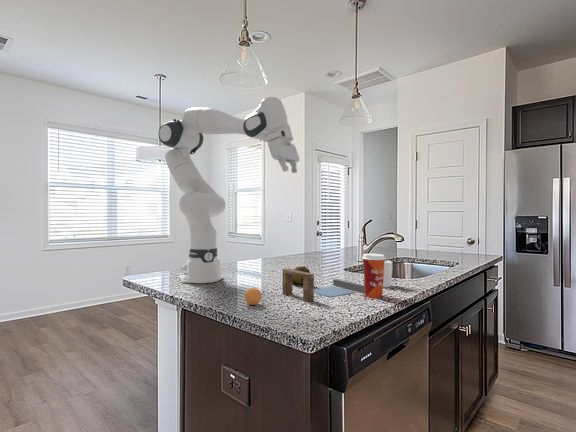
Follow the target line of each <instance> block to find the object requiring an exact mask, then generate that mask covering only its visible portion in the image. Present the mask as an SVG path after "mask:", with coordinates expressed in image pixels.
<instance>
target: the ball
mask: <svg viewBox="0 0 576 432" xmlns="http://www.w3.org/2000/svg"><path fill="white" fill-rule="evenodd" d="M262 295H263V294H262V292H261V291H260V289H259V288H256V287H251V288H248V289H247V290H246V292H245V293H244V301H245V302H246V303H247V304H248V305H251V306H256V305H258V304H259V303H260V302H261V301H262Z"/></svg>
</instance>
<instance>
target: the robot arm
mask: <svg viewBox="0 0 576 432" xmlns="http://www.w3.org/2000/svg"><path fill="white" fill-rule="evenodd" d="M182 114H183V115H182V118H181V119H180V120H179V119H178V118H174V119H172V120H171V121H166V122H164V123H163V124H162V125H161V126H160V127H159V129H158V139H159V141H160V142H161V144H162V145H165V146H166V147H169V148H170V149H168V150H167V152H166V153H165V155H164V158H165V162H166V165H167V168H168V170H169V172H170V174H171V175H172V177H173V180H174V181H175V183H176V185H177V186H178V188H179V190H181V192H183V193H184V194H183V195H182V196H181V197H180V199H179V203H178V206H179V210H180V211H181V213H182V214H183V215H184V216H185V218H186V220H187V223H188V226H189V227H188V228H189V233H190V235H189V236H190V249H189V251H188V259H187V260H186V262H185V263H184V264H183V265H182V266H181V267H180V271H181V272H183V273H182V274H179V275H178V279H179V281H180V282H181V283H183V284H184V283H185V284H188V283H189V284H190V283H191V284H207V283H215V282H219V281H220V280H222V279H224V275H222V272H221V271H222V270H221V261H220V260H219V258H218V247H217V229H216V228H214V226H213V223H212V220H211V218H215V217H217V216H220V215H222V214H223V213H224V212H225V209H226V201H225V199H224V198H223V197H222V196H221V195H220V194H219V193H217V192H216V191H215V190H214V189H213V188H212V186H210V184H209V183H207V181H206V180H205V179H204V178H203V176H202V175H201V173H200V171H199V170H198V168H197V166H196V164H195V163H194V161H193V159H192V158H191V155H194V154H195V153H196V152H197V151H198V150H199V149H200V148H201V147H202V146H203V143H204V135H205V134H206V135H229V134H231V135H233V134H237V135H238V134H239V135H245V136H247V137H250V138H252V139H255V140H260V141H263V142H265V143H267V145H268V149H269V153H270V155H271V157H272V159H273V160H276V161H278V164H279V165H280V167H281V169H282V172H289V167H288V165H287V164H286V163H288V164H290V167H291V173H292V174H297V173H298V169H297V164H298V162H300V156H299V154H298V150H297V147H296V145H295V144H294V143H292V142H293V140H294V136H293V132H292V129H291V127H290V125H289V122H288V115H287V111H286V109H285V106H284V103H283V102H282V100H281V99H280V98H277V97H274V96H273V97H266V98H265V97H264V98H263V99H262V100H261V101H260V103H259V105H258V107H257V108H256V109H255V110H254V111H253V112H251V113H250V114H248V115H247V116H245V118H244V119H243V118H239V117H235V116H233V115H231V114H228V113H227V112H224V111H222V110H219V109H216V108H212V107H203V106H198V107H197V106H196V107H191V108H188V109H186V110H185V111H184V112H183V113H182Z"/></svg>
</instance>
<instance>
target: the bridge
mask: <svg viewBox="0 0 576 432" xmlns="http://www.w3.org/2000/svg"><path fill="white" fill-rule="evenodd" d="M294 269H295V268H283V269H282V295H284V296H287V295H289V296H290V295H293V282H292V275H295V276H299V277H303V284H302V286H303V287H302V289H303V291H302V292H303V293H302V295H303V296H302V298H303V299H302V301H303V302H305V303H310V302H314V301H315V300H314V299H315V293H314V289H315V274H314V273H311V272H310V273H308V272H303V271H299V270H294Z"/></svg>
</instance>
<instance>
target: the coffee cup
mask: <svg viewBox="0 0 576 432" xmlns="http://www.w3.org/2000/svg"><path fill="white" fill-rule="evenodd" d="M362 261H363V263H362V265H363V281H364V282H363V283H364V284H363V285H365V293H364V296H365V297H367V298H370V299H380V298H381V299H382V297H383V292H384V290H383V289H384V287H383V278H384V261H386V257H385V255H384V253H382V254H381V253H364V254H363V256H362Z"/></svg>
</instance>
